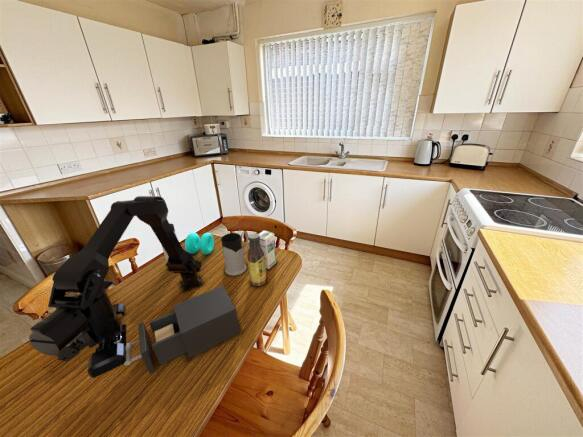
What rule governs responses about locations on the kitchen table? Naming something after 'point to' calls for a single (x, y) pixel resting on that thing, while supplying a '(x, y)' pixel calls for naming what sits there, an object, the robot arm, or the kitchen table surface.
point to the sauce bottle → (256, 261)
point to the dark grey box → (206, 320)
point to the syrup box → (268, 248)
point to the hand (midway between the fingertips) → (121, 358)
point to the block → (164, 332)
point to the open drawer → (157, 343)
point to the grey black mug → (234, 253)
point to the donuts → (199, 243)
